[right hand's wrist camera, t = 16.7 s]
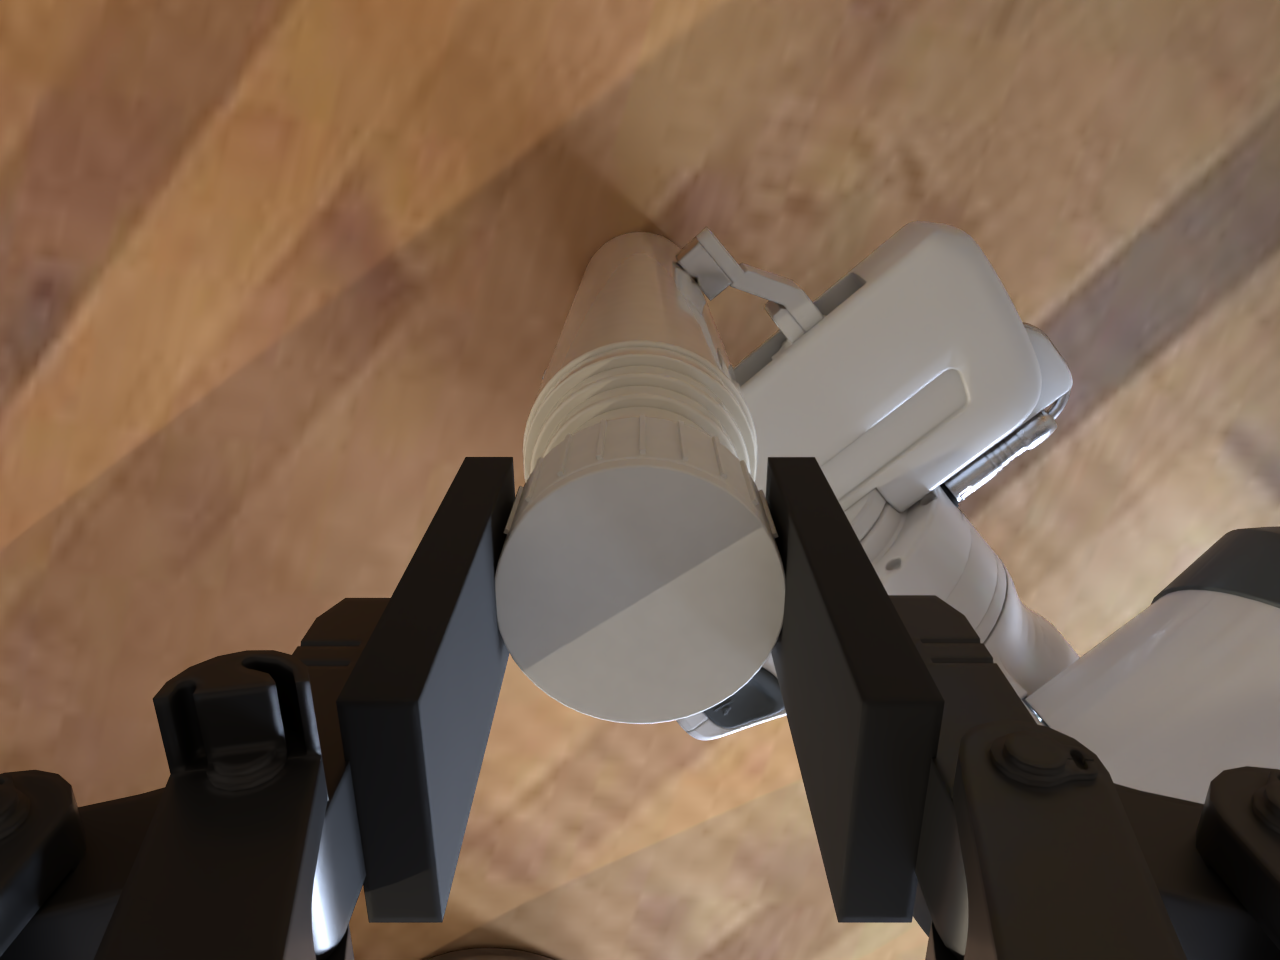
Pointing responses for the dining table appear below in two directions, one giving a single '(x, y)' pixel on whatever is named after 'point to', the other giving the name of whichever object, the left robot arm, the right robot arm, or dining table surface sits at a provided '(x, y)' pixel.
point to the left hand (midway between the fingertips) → (621, 303)
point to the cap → (640, 573)
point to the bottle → (639, 354)
